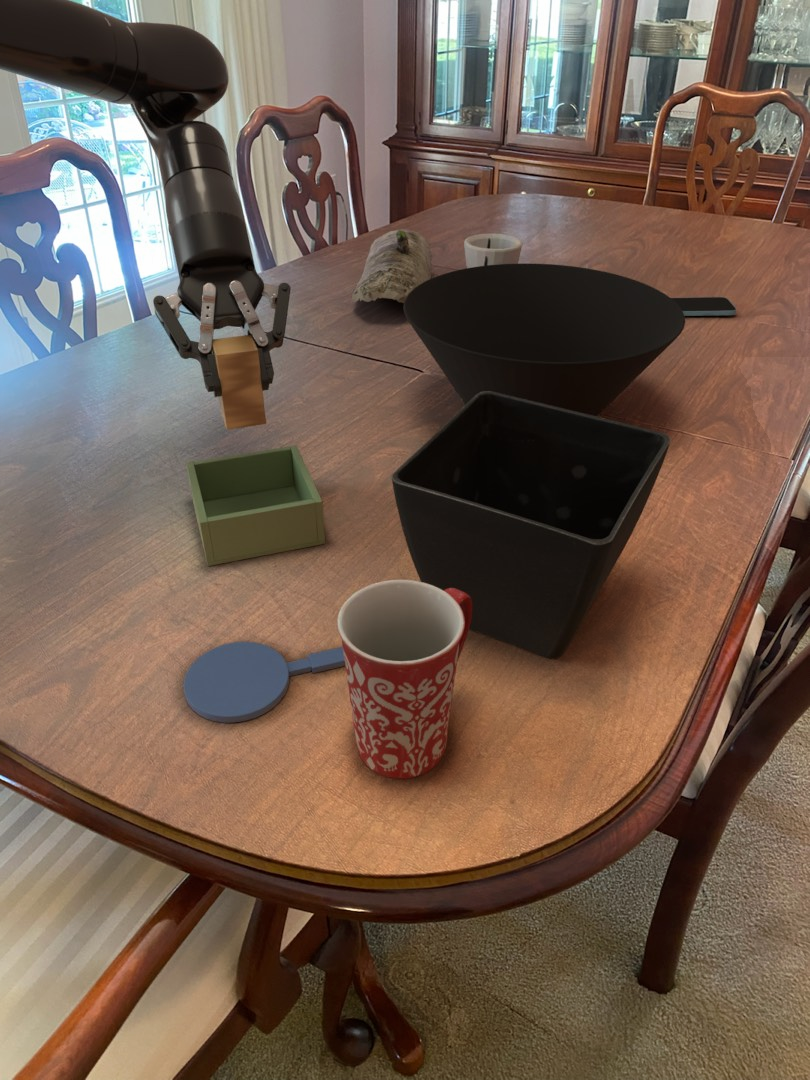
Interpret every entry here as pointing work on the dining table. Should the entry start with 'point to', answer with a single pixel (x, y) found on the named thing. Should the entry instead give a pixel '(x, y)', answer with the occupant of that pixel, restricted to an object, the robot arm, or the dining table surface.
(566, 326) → the bowl
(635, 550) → the dining table surface
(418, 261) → the log
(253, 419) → the wooden block
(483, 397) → the flower pot
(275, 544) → the green storage bin
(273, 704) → the blue ping pong paddle
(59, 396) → the dining table surface
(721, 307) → the smartphone
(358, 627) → the mug
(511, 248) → the mug
